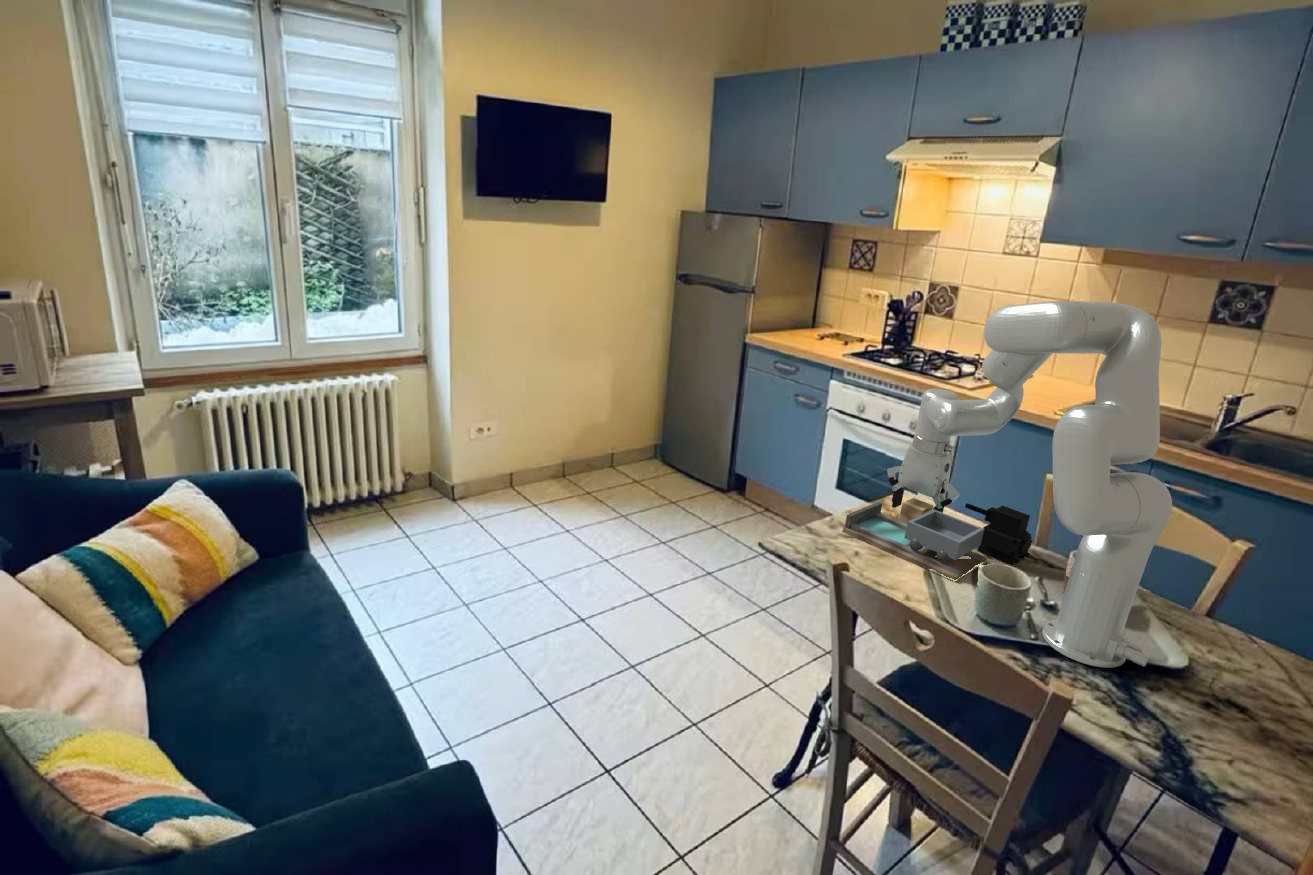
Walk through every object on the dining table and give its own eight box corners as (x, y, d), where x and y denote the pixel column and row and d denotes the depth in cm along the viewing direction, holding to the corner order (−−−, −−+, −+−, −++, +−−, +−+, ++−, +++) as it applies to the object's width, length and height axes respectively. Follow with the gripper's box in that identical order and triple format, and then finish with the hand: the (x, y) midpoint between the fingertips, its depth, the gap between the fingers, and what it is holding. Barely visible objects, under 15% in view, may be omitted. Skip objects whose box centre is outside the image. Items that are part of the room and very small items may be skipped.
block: (929, 525, 166) (933, 505, 164) (918, 530, 162) (922, 510, 161) (909, 517, 169) (913, 497, 167) (898, 522, 166) (902, 502, 164)
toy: (966, 533, 163) (976, 493, 160) (1029, 559, 153) (1041, 516, 150) (950, 541, 158) (959, 500, 155) (1014, 568, 148) (1026, 525, 145)
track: (986, 562, 150) (990, 545, 148) (954, 582, 141) (959, 564, 139) (876, 516, 167) (879, 501, 166) (842, 531, 158) (845, 515, 157)
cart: (978, 552, 149) (984, 528, 147) (953, 567, 142) (959, 542, 140) (928, 531, 157) (933, 509, 155) (902, 545, 149) (907, 521, 148)
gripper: (975, 453, 156) (958, 524, 162) (904, 430, 168) (890, 496, 173) (959, 460, 151) (942, 532, 157) (887, 435, 163) (873, 504, 169)
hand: (915, 513), depth 165 cm, fingers open, 9 cm apart
